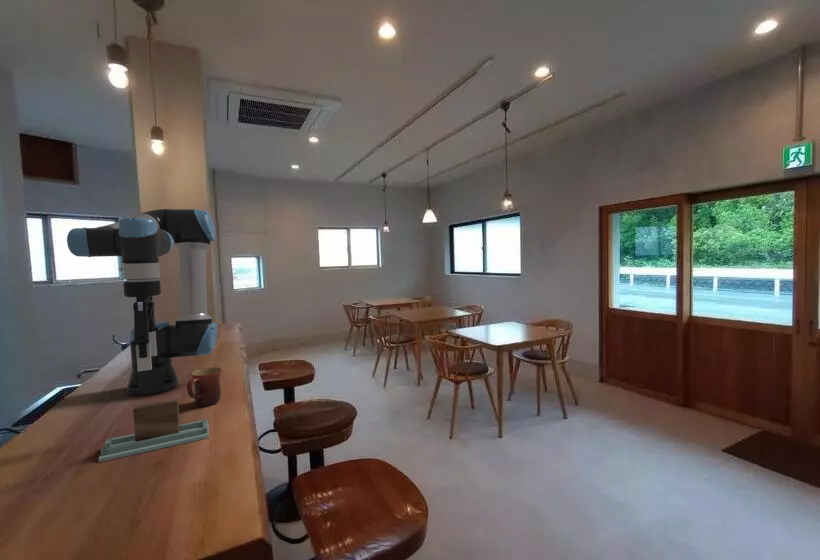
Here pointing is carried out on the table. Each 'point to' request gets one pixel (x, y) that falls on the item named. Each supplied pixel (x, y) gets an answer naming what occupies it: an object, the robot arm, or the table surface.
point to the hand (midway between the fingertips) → (148, 362)
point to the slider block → (156, 419)
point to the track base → (153, 441)
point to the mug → (205, 386)
